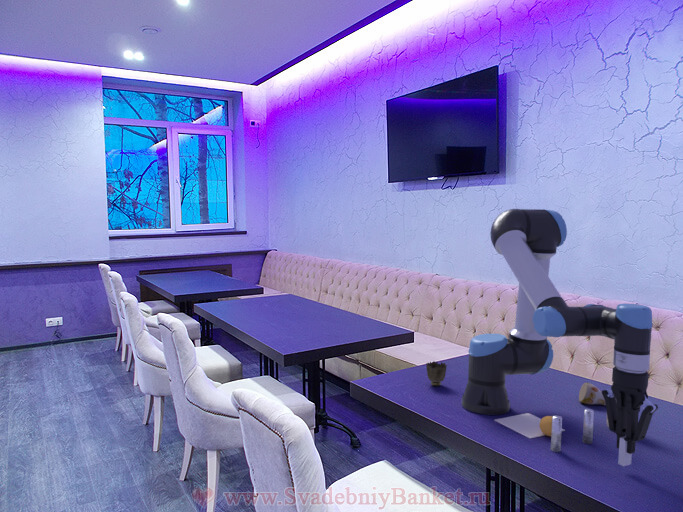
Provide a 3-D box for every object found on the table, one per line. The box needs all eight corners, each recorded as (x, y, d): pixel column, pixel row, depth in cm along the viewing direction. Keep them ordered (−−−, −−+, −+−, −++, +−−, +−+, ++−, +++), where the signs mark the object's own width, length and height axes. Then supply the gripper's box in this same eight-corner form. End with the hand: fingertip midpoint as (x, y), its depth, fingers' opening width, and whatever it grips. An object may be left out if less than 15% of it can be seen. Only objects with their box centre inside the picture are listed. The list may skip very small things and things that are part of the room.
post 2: (580, 441, 138) (582, 409, 138) (586, 439, 139) (588, 408, 139) (588, 444, 136) (590, 412, 135) (594, 443, 137) (596, 411, 136)
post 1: (548, 449, 133) (550, 416, 132) (555, 447, 134) (556, 414, 133) (556, 452, 131) (557, 419, 130) (562, 451, 132) (564, 418, 131)
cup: (449, 384, 185) (449, 363, 184) (441, 390, 178) (442, 368, 178) (430, 380, 189) (430, 360, 188) (422, 385, 182) (423, 364, 182)
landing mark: (494, 420, 152) (494, 419, 151) (528, 413, 158) (528, 413, 158) (529, 438, 139) (530, 438, 139) (565, 430, 145) (565, 429, 145)
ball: (554, 433, 137) (542, 441, 140) (568, 429, 139) (555, 437, 143) (543, 414, 140) (532, 422, 143) (557, 411, 142) (545, 419, 146)
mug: (617, 410, 163) (604, 385, 162) (586, 418, 167) (574, 393, 166) (612, 397, 170) (600, 373, 168) (583, 405, 174) (571, 381, 172)
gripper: (595, 363, 124) (590, 455, 125) (647, 378, 112) (641, 479, 114) (615, 360, 127) (610, 449, 129) (667, 374, 115) (661, 473, 117)
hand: (624, 463), depth 121 cm, fingers closed
